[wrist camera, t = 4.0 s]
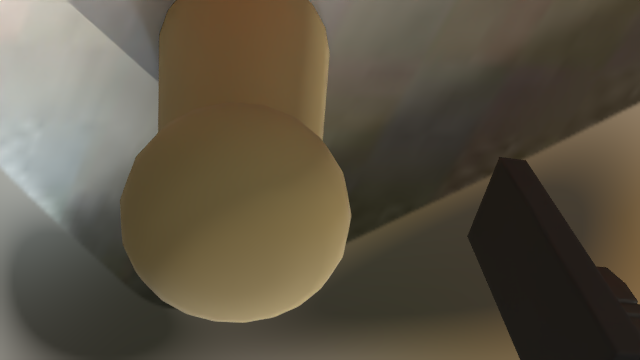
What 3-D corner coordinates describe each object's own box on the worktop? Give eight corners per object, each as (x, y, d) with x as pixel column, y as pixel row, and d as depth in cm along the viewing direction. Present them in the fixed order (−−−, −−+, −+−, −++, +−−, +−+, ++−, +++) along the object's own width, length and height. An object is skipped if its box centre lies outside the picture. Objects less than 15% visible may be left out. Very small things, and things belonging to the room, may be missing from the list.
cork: (213, -68, 19) (173, 82, 10) (363, 33, 22) (439, 229, 12) (128, 79, 22) (35, 303, 13) (270, 155, 24) (278, 391, 15)
